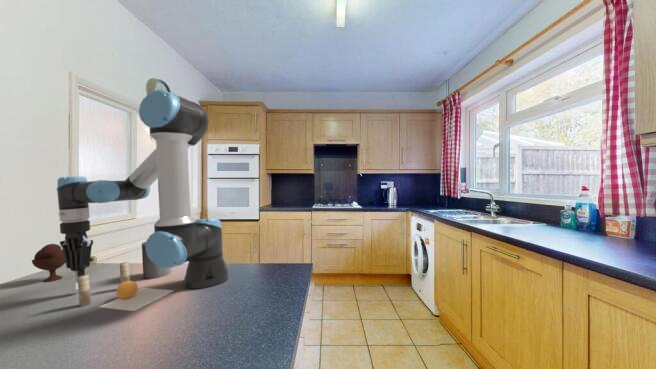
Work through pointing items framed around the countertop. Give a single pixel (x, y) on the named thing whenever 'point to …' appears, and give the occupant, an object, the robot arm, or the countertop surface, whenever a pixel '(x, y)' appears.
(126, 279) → the right post
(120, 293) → the ball
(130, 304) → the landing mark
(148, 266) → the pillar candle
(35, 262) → the ice cream bowl
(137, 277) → the countertop surface
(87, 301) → the left post
